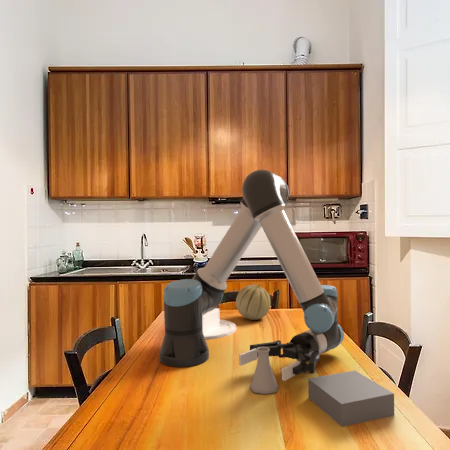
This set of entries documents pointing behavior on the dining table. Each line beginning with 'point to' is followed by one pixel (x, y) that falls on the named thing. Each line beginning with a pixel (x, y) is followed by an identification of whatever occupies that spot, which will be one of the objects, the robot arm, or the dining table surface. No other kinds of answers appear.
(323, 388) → the riser block
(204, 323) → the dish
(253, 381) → the flask
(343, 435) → the dining table surface
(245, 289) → the cantaloupe
